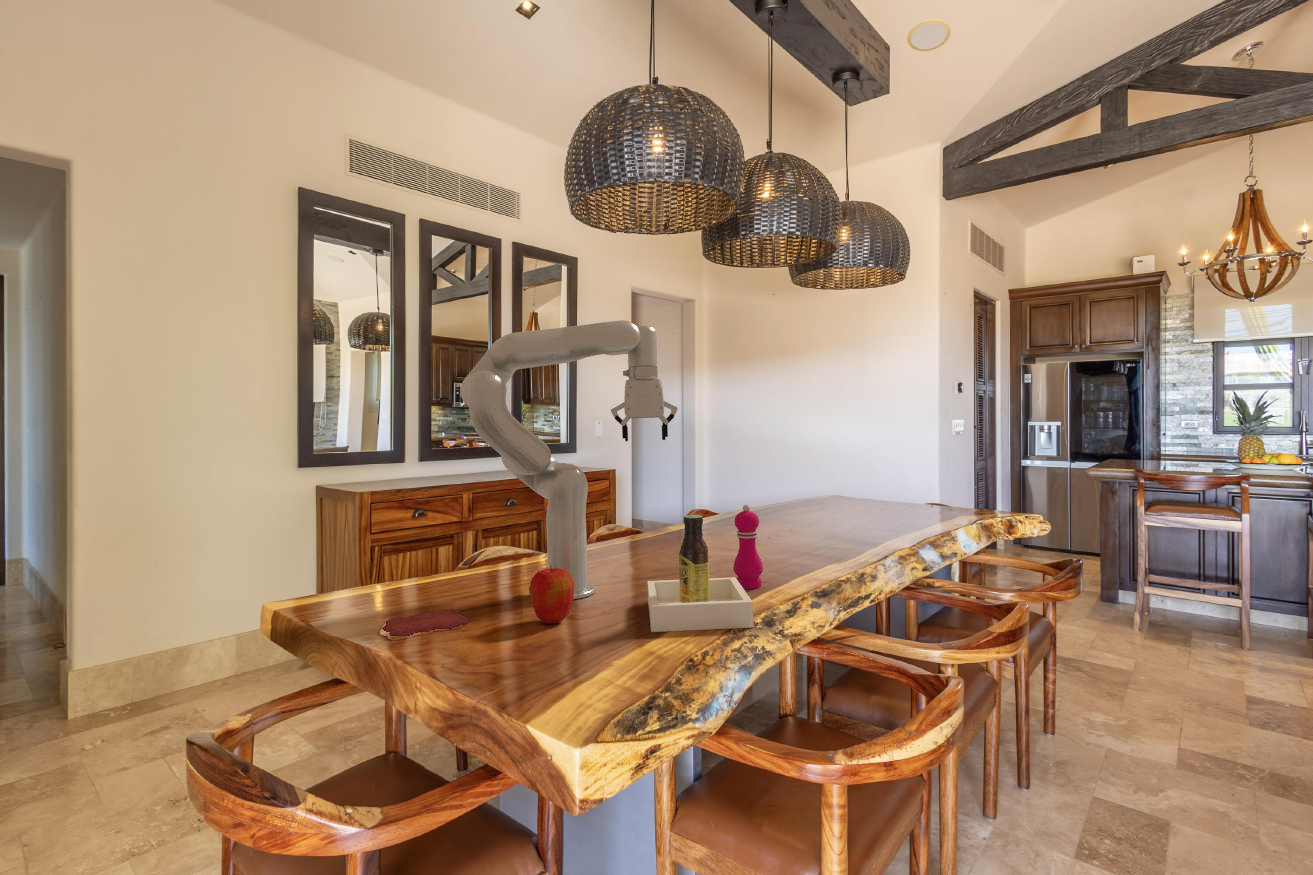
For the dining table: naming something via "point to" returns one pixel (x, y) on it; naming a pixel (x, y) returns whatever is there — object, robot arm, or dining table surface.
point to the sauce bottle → (694, 562)
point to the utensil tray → (699, 607)
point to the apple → (552, 594)
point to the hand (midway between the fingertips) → (645, 440)
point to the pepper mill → (747, 550)
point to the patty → (425, 622)
